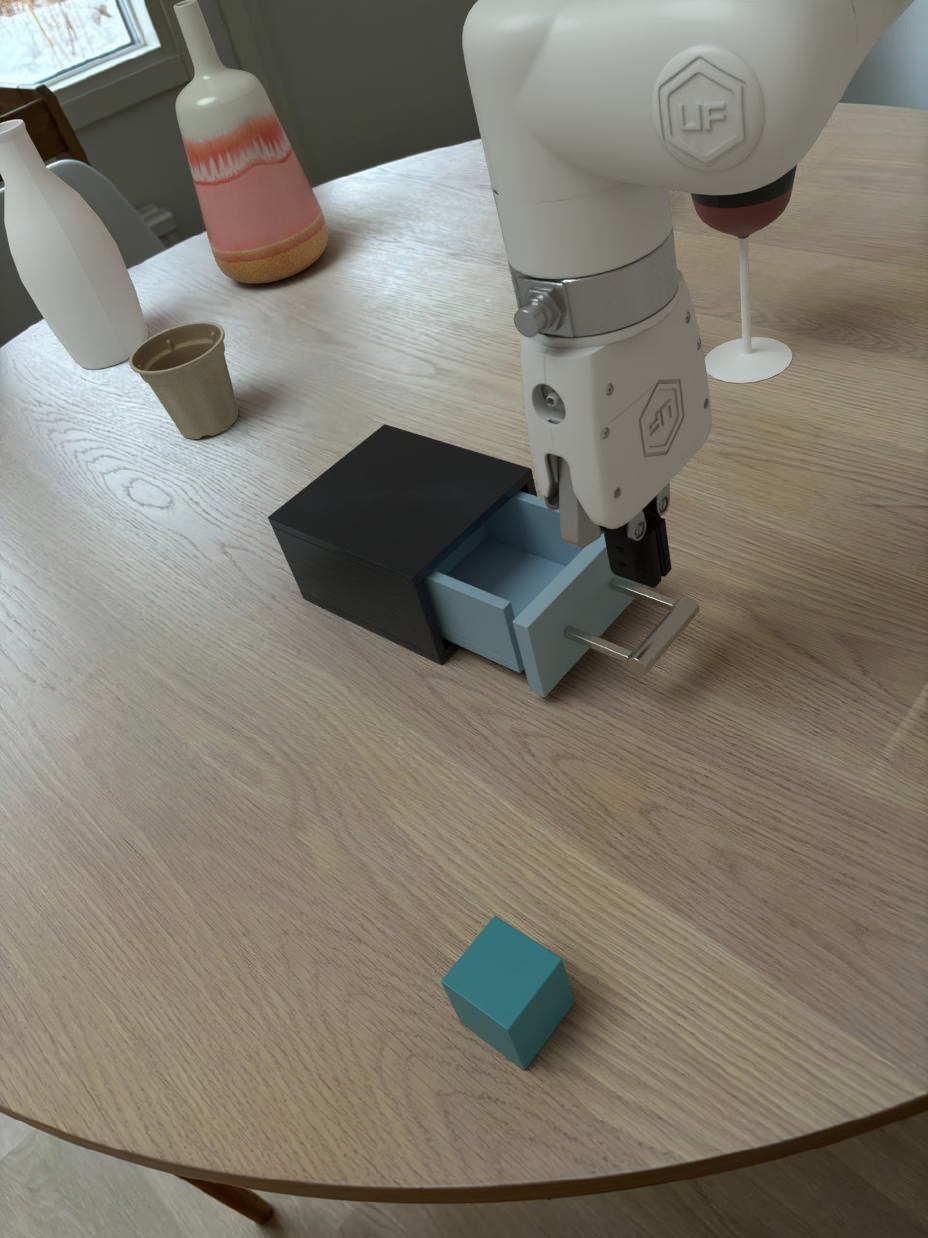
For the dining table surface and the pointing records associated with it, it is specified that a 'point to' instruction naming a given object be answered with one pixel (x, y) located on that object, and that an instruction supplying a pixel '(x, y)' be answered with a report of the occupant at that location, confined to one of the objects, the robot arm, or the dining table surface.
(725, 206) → the wineglass
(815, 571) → the dining table surface
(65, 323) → the bottle
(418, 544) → the small black cabinet
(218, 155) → the vase
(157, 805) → the dining table surface
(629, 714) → the dining table surface
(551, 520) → the drawer
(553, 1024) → the teal block
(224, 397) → the flower pot
